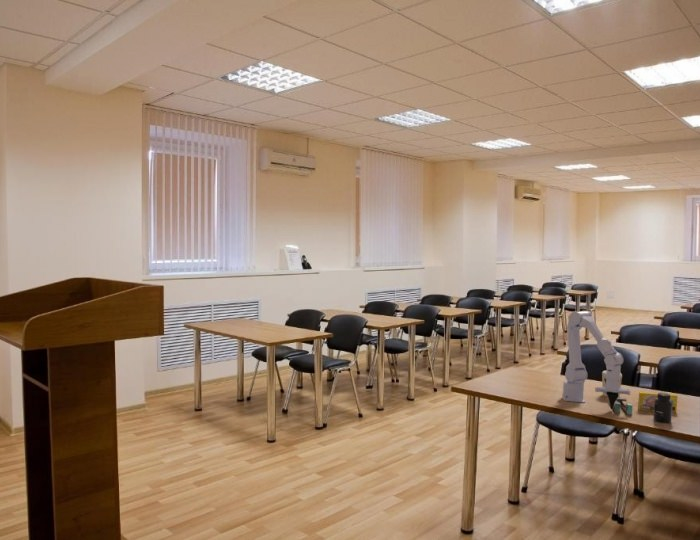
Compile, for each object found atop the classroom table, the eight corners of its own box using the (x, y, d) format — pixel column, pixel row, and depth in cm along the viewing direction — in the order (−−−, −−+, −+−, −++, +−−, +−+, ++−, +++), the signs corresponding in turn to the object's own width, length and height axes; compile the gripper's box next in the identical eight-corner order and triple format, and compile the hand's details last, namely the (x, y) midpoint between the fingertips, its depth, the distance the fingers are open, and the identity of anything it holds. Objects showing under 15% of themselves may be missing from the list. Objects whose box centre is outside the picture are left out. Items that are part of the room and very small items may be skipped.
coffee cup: (601, 397, 274) (602, 373, 273) (600, 392, 283) (601, 369, 282) (622, 399, 271) (623, 375, 270) (620, 394, 280) (621, 371, 279)
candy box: (639, 410, 253) (640, 392, 252) (637, 409, 255) (638, 391, 254) (676, 413, 250) (677, 395, 250) (674, 411, 252) (675, 394, 252)
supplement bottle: (654, 422, 235) (656, 394, 234) (652, 417, 241) (653, 391, 241) (672, 424, 232) (674, 396, 232) (669, 420, 239) (671, 393, 238)
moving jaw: (615, 413, 246) (615, 403, 246) (612, 405, 258) (612, 396, 258) (620, 413, 246) (620, 404, 246) (616, 406, 258) (617, 397, 257)
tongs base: (616, 413, 246) (616, 403, 246) (609, 403, 263) (609, 394, 263) (633, 415, 244) (633, 405, 244) (625, 404, 261) (625, 395, 261)
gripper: (597, 379, 247) (595, 409, 248) (632, 382, 243) (630, 412, 244) (594, 376, 254) (593, 405, 255) (628, 379, 250) (627, 408, 250)
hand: (611, 408), depth 250 cm, fingers closed
